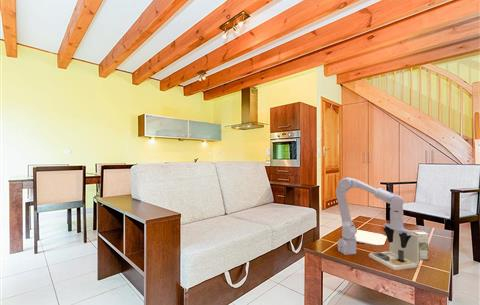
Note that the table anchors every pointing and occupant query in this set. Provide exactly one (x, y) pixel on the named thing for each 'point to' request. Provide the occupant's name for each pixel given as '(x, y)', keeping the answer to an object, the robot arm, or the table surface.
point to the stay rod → (401, 256)
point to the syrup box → (422, 244)
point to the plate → (370, 238)
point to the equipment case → (392, 255)
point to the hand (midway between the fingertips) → (396, 244)
